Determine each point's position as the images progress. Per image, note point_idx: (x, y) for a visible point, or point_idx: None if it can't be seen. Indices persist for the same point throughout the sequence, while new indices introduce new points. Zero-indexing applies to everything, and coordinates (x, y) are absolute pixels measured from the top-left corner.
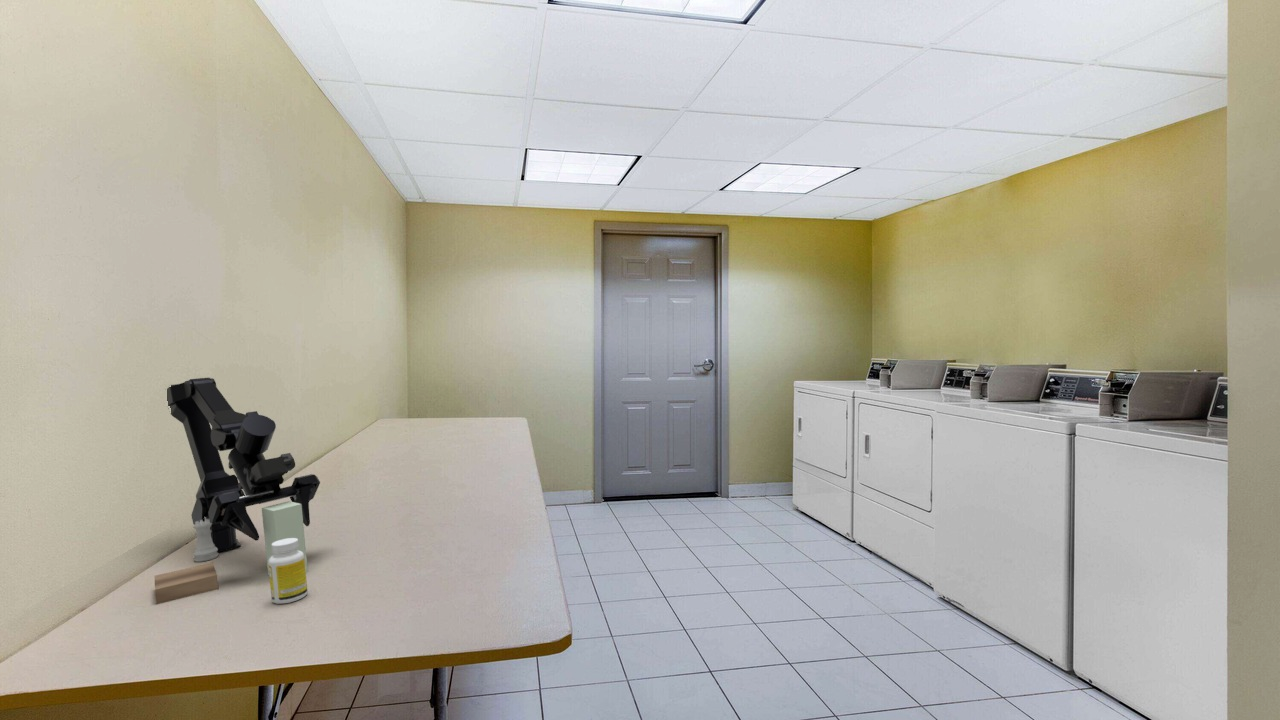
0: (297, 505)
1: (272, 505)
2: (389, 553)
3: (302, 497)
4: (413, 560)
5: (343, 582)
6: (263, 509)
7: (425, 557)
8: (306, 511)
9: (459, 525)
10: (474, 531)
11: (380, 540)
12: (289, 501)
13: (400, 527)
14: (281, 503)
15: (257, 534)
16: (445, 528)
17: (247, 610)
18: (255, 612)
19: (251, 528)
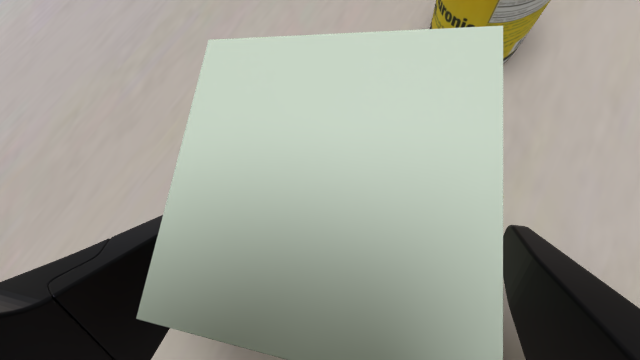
0: (245, 41)
1: (337, 355)
2: (180, 101)
3: (8, 306)
4: (204, 15)
5: (346, 25)
6: (495, 336)
7: (186, 10)
8: (159, 223)
9: (14, 119)
10: (49, 56)
11: (107, 214)
12: (147, 293)
13: (19, 258)
14: (232, 312)
15: (526, 232)
16: (30, 132)
17: (583, 56)
18: (574, 26)
19: (589, 277)
